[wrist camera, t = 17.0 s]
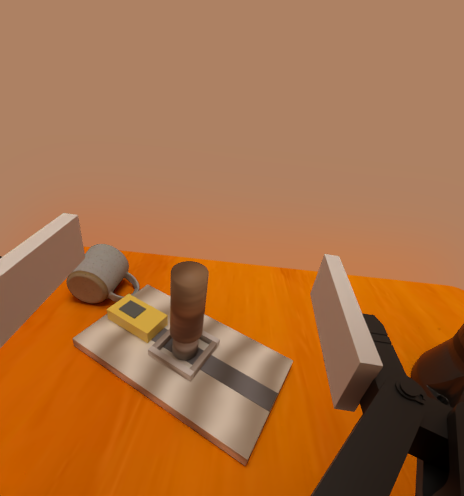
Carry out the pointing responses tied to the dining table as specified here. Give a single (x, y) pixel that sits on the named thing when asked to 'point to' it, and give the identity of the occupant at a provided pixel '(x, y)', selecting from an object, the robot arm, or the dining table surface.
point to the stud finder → (137, 317)
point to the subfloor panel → (196, 375)
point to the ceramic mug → (100, 275)
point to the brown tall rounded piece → (187, 307)
